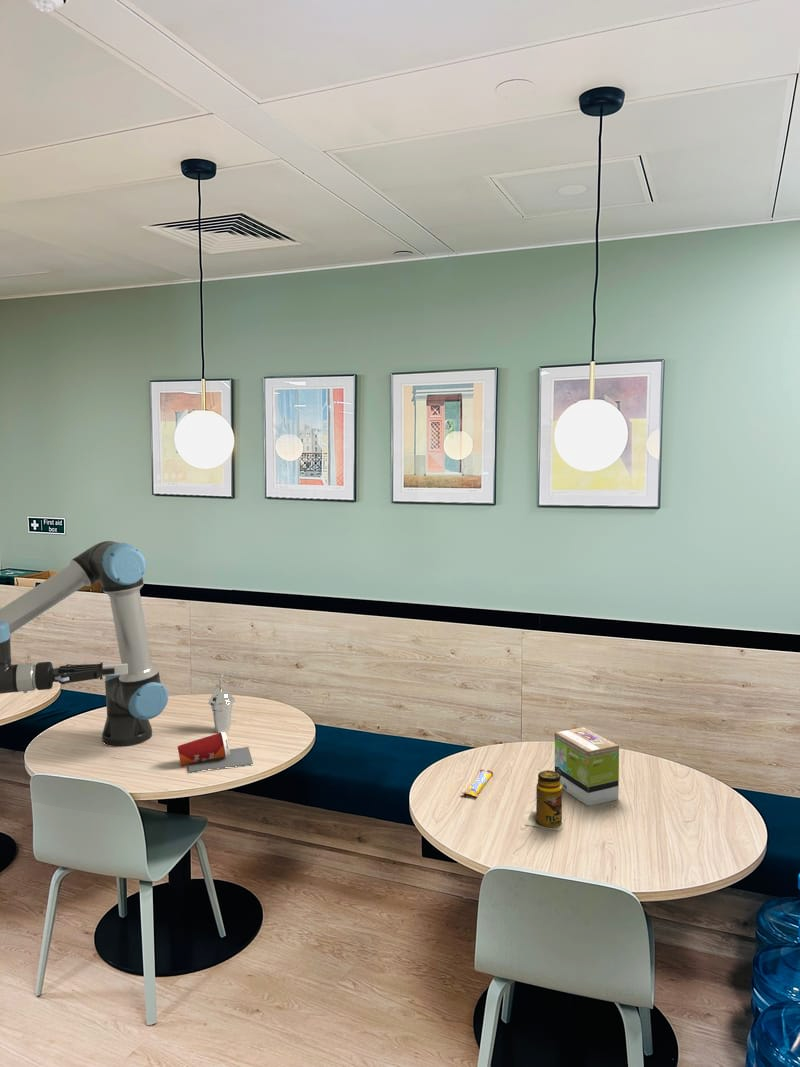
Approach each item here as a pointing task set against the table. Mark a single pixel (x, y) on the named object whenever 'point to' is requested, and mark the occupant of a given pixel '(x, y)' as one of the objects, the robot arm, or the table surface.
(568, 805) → the table surface
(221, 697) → the cup with straw
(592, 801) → the tea box
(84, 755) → the table surface
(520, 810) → the table surface
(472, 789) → the candy bar
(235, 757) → the mat
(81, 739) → the table surface
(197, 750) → the paper cup
